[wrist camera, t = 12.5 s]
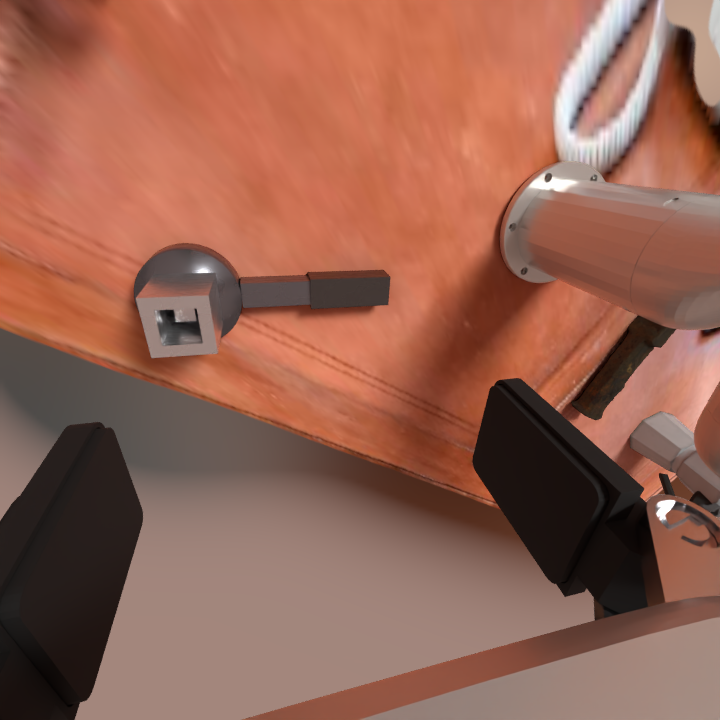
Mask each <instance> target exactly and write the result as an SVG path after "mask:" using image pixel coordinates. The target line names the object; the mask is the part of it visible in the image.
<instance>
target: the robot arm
mask: <svg viewBox="0 0 720 720" xmlns="http://www.w3.org/2000/svg"><path fill="white" fill-rule="evenodd" d="M500 249H501V254H502V257H503V260H504V262H505V264H506V266H507V267H508V269H509V270H510V271H511V272H512V273H513V274H515V275H516V276H518V277H519V278H521V279H524V280H526V281H528V282H533V283H547V282H551V281H555V280H557V279H559V280H561V281H563V282H565V283H568V284H570V285H572V286H574V287H577V288H579V289H581V290H583V291H585V292H588V293H590V294H592V295H594V296H596V297H599V298H601V299H603V300H605V301H608V302H610V303H612V304H614V305H616V306H619V307H621V308H623V309H625V310H627V311H630V312H632V313H634V314H637V315H639V316H641V317H643V318H646V319H648V320H650V321H652V322H655V323H657V324H659V325H662V326H665V327H669V328H674V329H680V330H702V329H711V328H716V327H720V195H713V194H704V193H695V192H686V191H677V190H669V189H660V188H651V187H642V186H633V185H624V184H615V183H606V182H605V181H604V179H603V177H602V176H601V174H600V173H599V172H598V171H597V170H596V169H595V168H594V167H592V166H590V165H588V164H586V163H582V162H576V161H563V162H558V163H554V164H551V165H549V166H547V167H544V168H543V169H541V170H540V171H538V172H537V173H535V174H533V175H532V176H531V177H530V178H529V179H528V180H527V181H526V182H525V183H524V184H523V185H522V186H521V187H520V189H519V190H518V191H517V192H516V194H515V195H514V197H513V199H512V200H511V202H510V204H509V205H508V208H507V210H506V213H505V215H504V218H503V222H502V226H501V231H500ZM694 444H695V448H696V451H697V453H698V455H699V457H700V458H701V459H702V461H703V462H704V463H705V465H706V466H707V467H708V468H709V469H710V470H711V471H712V472H713V473H714V474H716V475H717V476H718V477H719V478H720V382H719V384H718V385H717V387H716V389H715V390H714V392H713V394H712V395H711V397H710V399H709V400H708V403H707V404H706V406H705V408H704V410H703V411H702V413H701V415H700V417H699V419H698V421H697V424H696V427H695V431H694ZM473 466H474V469H475V471H476V473H477V474H478V476H479V477H480V479H481V480H482V482H483V483H484V485H485V486H486V488H487V489H488V491H489V492H490V494H491V495H492V497H493V498H494V500H495V501H496V503H497V504H498V506H499V507H500V509H501V510H502V511H503V513H504V515H505V516H506V517H507V519H508V520H509V522H510V523H511V525H512V526H513V528H514V529H515V531H516V532H517V534H518V535H519V537H520V538H521V540H522V541H523V543H524V544H525V546H526V547H527V549H528V550H529V552H530V553H531V555H532V556H533V558H534V559H535V561H536V562H537V564H538V565H539V567H540V568H541V570H542V571H543V573H544V574H545V576H546V577H547V578H548V580H550V581H551V582H552V583H554V584H557V586H558V587H559V589H560V590H561V592H562V593H563V595H564V596H565V597H566V596H570V595H573V594H578V593H582V592H584V591H585V590H586V588H587V589H588V590H589V592H590V593H591V594H592V596H593V597H594V616H595V621H592V622H588V623H584V624H581V625H577V626H573V627H570V628H566V629H563V630H559V631H555V632H552V633H548V634H544V635H541V636H537V637H533V638H530V639H526V640H522V641H519V642H515V643H511V644H508V645H504V646H501V647H497V648H493V649H490V650H486V651H483V652H479V653H475V654H472V655H468V656H465V657H461V658H458V659H454V660H451V661H447V662H443V663H440V664H436V665H433V666H430V667H426V668H422V669H418V670H415V671H411V672H408V673H404V674H401V675H397V676H394V677H390V678H386V679H383V680H380V681H376V682H373V683H369V684H365V685H362V686H358V687H355V688H351V689H347V690H344V691H340V692H337V693H333V694H330V695H326V696H323V697H319V698H316V699H312V700H309V701H305V702H302V703H298V704H295V705H291V706H288V707H284V708H281V709H278V710H274V711H271V712H267V713H264V714H260V715H257V716H253V717H249V718H246V719H243V720H720V520H719V519H718V518H716V517H715V516H714V515H712V514H711V513H710V512H708V511H707V510H705V509H704V508H702V507H700V506H698V505H697V504H695V503H693V502H690V501H688V500H685V499H683V498H680V497H676V496H672V495H655V496H652V497H650V499H649V500H648V501H647V502H645V501H644V500H643V499H642V498H641V497H640V495H641V494H642V492H643V490H644V488H643V487H642V486H641V485H640V484H639V483H637V482H636V481H635V480H634V479H633V478H632V477H631V476H630V475H628V474H627V473H626V472H625V471H624V470H623V469H622V468H621V467H619V466H618V465H617V464H616V463H615V462H614V461H613V460H612V459H610V458H609V457H608V456H607V455H606V454H605V453H604V452H603V451H601V450H600V449H599V448H598V447H597V446H596V445H595V444H594V443H592V442H591V441H590V440H589V439H588V438H587V437H586V436H585V435H583V434H582V433H581V432H580V431H579V430H578V429H577V428H576V427H574V426H573V425H572V424H571V423H570V422H569V421H568V420H567V419H565V418H564V417H563V416H562V415H561V414H560V413H559V412H558V411H556V410H555V409H554V408H553V407H552V406H551V405H550V404H549V403H547V402H546V401H545V400H544V399H543V398H542V397H541V396H540V395H538V394H537V393H536V392H535V391H534V390H533V389H532V388H531V387H529V386H528V385H527V384H526V383H525V382H524V381H523V380H521V379H519V378H514V379H505V380H499V381H497V382H496V383H495V385H494V386H492V387H491V388H490V391H489V395H488V399H487V403H486V407H485V411H484V415H483V419H482V423H481V427H480V431H479V435H478V439H477V443H476V447H475V451H474V455H473ZM142 522H143V512H142V507H141V505H140V502H139V499H138V496H137V494H136V491H135V488H134V485H133V483H132V480H131V477H130V474H129V471H128V469H127V466H126V463H125V460H124V458H123V455H122V452H121V449H120V447H119V444H118V441H117V438H116V435H115V433H114V431H113V429H112V428H105V427H104V425H103V424H102V423H100V422H95V423H85V424H77V425H70V426H68V427H66V428H65V429H64V431H63V432H62V434H61V435H60V437H59V438H58V440H57V441H56V443H55V444H54V446H53V447H52V449H51V450H50V452H49V453H48V455H47V456H46V458H45V459H44V461H43V462H42V464H41V465H40V467H39V468H38V470H37V471H36V473H35V474H34V476H33V477H32V479H31V480H30V482H29V483H28V485H27V486H26V488H25V489H24V491H23V492H22V494H21V495H20V496H19V497H18V498H17V499H16V500H15V501H14V502H13V503H12V504H11V506H10V507H9V509H8V510H7V512H6V513H5V515H4V516H3V518H2V519H1V521H0V720H74V719H75V716H76V713H77V710H78V707H79V704H80V702H83V701H86V700H87V699H88V698H89V696H90V695H91V693H92V690H93V687H94V684H95V681H96V678H97V674H98V671H99V667H100V664H101V661H102V658H103V654H104V651H105V647H106V644H107V641H108V637H109V634H110V630H111V627H112V624H113V620H114V617H115V614H116V611H117V607H118V604H119V601H120V597H121V594H122V590H123V587H124V584H125V580H126V577H127V573H128V570H129V567H130V564H131V560H132V557H133V554H134V550H135V547H136V543H137V540H138V537H139V533H140V530H141V526H142Z"/></svg>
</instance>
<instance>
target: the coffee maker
mask: <svg viewBox="0 0 720 720" xmlns="http://www.w3.org/2000/svg"><path fill="white" fill-rule="evenodd" d="M630 448H632V449H633V450H635V451H637V452H638V453H640V454H642V455H643V456H645V457H646V458H648V459H650V460H651V461H653V462H655V463H656V464H658V465H660V466H661V467H663V468H665V469H666V470H668V471H670V472H674V473H676V475H677V476H678V477H679V478H680V481H681V482H682V483H683V484H684V485H685V486H686V487H687V488H688V489H689V490H690V491H691V492H692V493H694V494H693V496H692V497H691V499H690V500H689V501H690V502H693V503H695V504H697V505H698V506H700V507H702V508H704V509H705V510H707V511H708V512H710V511H711V512H710V513H711V514H712V515H714V516H715V517H720V478H719V477H718V476H717V475H716V474H714V473H713V472H712V471H711V470H710V469H709V468H708V467H707V466H706V465H705V463H704V462H703V461H702V459H701V458H700V457H699V455H698V453H697V451H696V448H695V444H694V433H693V432H691V431H690V430H689V429H688V428H687V427H686V426H685V425H684V424H682V423H681V422H680V421H679V420H678V419H677V418H676V417H675V416H673V415H672V414H668V413H665V412H659V413H657V414H655V415H653V416H650V417H648V418H646V419H644V420H643V421H642V422H641V423H640V424H639V425H638V427H637V428H636V429H635V430H634V431H633V433H632V434H631V435H630ZM659 478H660V481H661V484H662V486H663V489H664V492H665V495H672V496H675V494H674V491H673V489H672V486H671V483H670V480H669V477H668V475H667V474H661V473H659Z"/></svg>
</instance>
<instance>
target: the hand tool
mask: <svg viewBox="0 0 720 720" xmlns="http://www.w3.org/2000/svg"><path fill="white" fill-rule="evenodd" d="M628 330H629V333H628V334H627V336H626V338H625V339H624V341H623V342H622V343H621V345H620V346H619V347H618V348H617V350H616V351H615V352H614V353H613V354H612V355H611V357H610V359H609V361H608V362H607V363H606V364H605V366H604V367H603V368H602V370H601V371H600V372H599V373H598V375H597V376H596V377H595V378H594V380H593V381H592V382H591V384H590V385H589V386H588V387H587V389H586V390H585V391H584V393H583V394H582V396H581V397H580V398H579V399H578V400H577V401H572V402H571V403H572V406H573V407H575V408H576V409H577V410H578V411H579V412H581V413H582V414H583V415H585V416H587V417H589V418H592V419H594V420H599V419H601V418H602V414H603V412H604V410H605V408H606V407H607V405H608V404H609V403H610V402H611V401H612V400H613V399H614V397H615V396H616V395H617V394H618V393H619V392H620V391H621V390H622V389H623V388H624V385H625V383H626V382H627V380H628V379H629V378H630V376H631V375H632V374H633V373H634V371H635V370H636V369H637V367H638V366H639V365H640V364H641V363H642V361H643V360H644V359H645V358H646V356H648V354H649V353H650V352H651V351H652V350H653V349H654V347H660V348H661V347H662V346H663V345H664V344H665V343H666V341H667V340H668V338H669V337H670V336H671V335H672V334H673V333H674V331H675V330H676V329H674V328H669V327H665V326H662V325H659V324H657V323H655V322H652V321H650V320H648V319H646V318H643V317H641V316H638V317H637V318H636V319H635V320H634V321H633V322H632V323H631V324H630V325H629V327H628Z"/></svg>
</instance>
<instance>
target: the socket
mask: <svg viewBox="0 0 720 720" xmlns="http://www.w3.org/2000/svg"><path fill="white" fill-rule="evenodd" d="M136 302H137V305H138V309H139V313H140V317H141V321H142V324H143V328H144V332H145V336H146V340H147V344H148V347H149V351H150V355H151V358H161V357H175V356H189V355H203V354H217V353H218V350H219V345H220V339H221V334H222V328H223V319H222V312H221V306H220V299H219V292H218V285H217V278H216V273H177V274H154V275H153V276H152V278H151V279H150V280H149V282H148V283H147V284H146V285H145V287H144V288H143V289H142V291H141V292H140V293H139V294H138V296H137V297H136ZM195 308H197V313H198V318H197V321H184V322H176V318H175V313H174V309H195Z"/></svg>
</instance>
